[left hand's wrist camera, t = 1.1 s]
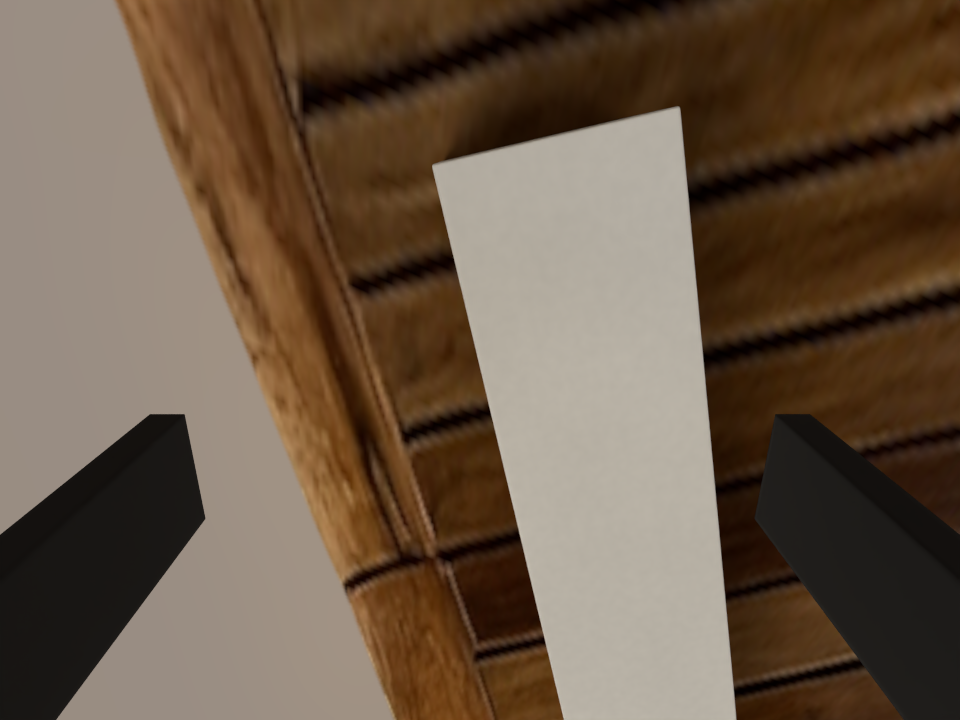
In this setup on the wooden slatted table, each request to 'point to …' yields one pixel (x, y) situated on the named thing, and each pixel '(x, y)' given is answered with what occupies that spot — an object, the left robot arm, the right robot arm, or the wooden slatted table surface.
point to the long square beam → (601, 407)
